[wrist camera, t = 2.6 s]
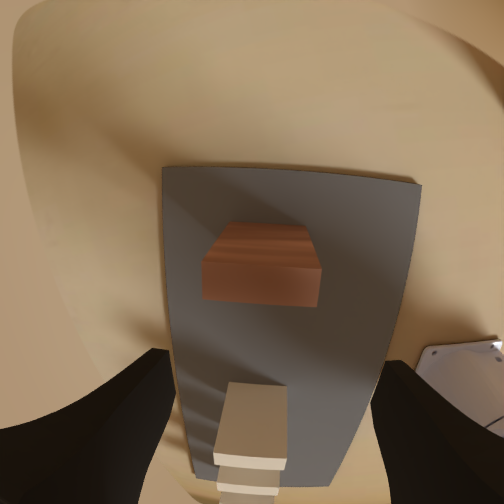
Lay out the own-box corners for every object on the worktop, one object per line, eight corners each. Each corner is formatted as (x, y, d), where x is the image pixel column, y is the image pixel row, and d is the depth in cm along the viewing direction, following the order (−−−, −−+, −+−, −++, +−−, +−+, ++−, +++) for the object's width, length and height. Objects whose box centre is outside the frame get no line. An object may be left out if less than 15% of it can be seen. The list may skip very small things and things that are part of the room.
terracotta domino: (229, 221, 18) (201, 261, 11) (305, 225, 18) (321, 269, 11) (229, 247, 18) (202, 299, 12) (303, 251, 18) (316, 307, 11)
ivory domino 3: (230, 444, 25) (219, 503, 18) (276, 448, 24) (273, 507, 18) (230, 452, 25) (220, 508, 18) (275, 456, 25) (271, 513, 18)
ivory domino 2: (229, 417, 23) (216, 482, 17) (281, 421, 23) (279, 487, 16) (229, 427, 24) (217, 490, 17) (279, 431, 23) (277, 495, 17)
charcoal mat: (418, 184, 17) (421, 185, 16) (328, 483, 27) (328, 486, 27) (165, 167, 18) (162, 167, 17) (197, 475, 28) (196, 478, 28)
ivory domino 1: (229, 381, 22) (213, 452, 15) (287, 386, 22) (286, 458, 15) (229, 395, 22) (214, 464, 16) (284, 399, 22) (284, 470, 15)
